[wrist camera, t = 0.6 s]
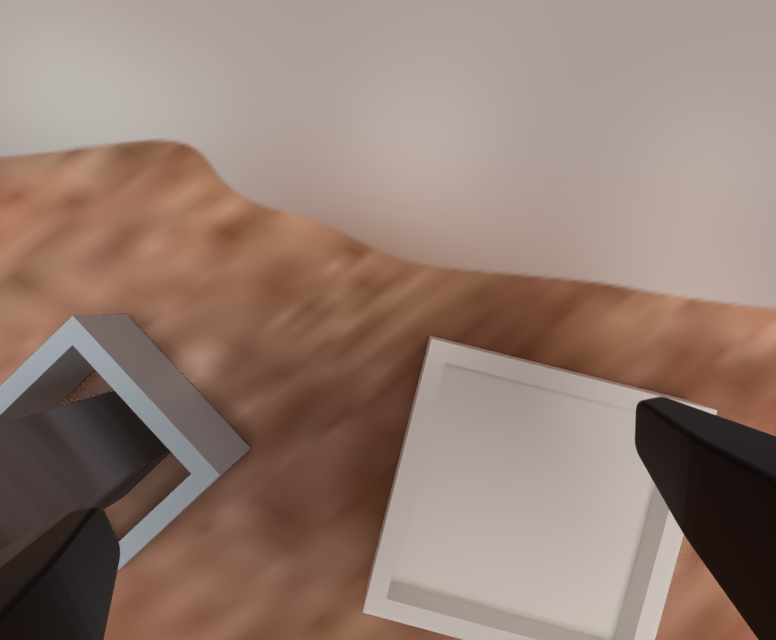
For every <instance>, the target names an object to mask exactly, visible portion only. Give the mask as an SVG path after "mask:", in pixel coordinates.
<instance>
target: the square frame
mask: <svg viewBox="0 0 776 640" xmlns="http://www.w3.org/2000/svg"><path fill="white" fill-rule="evenodd" d="M94 369H95V370H96V371H97V372H98V373H99V374H100V375H101V376H102V378H103V379H104V380H105V381H106V382H107V383H108V384H109V385H110V386H111V387H112V388H113V389H114V391H115V392H116V393H117V394H118V395H119V396H120V397H121V398H122V399H123V400H124V401H125V402H126V404H127V405H128V406H129V407H130V408H131V409H132V410H133V411H134V412H135V413H136V414H137V415H138V417H139V418H140V419H141V420H142V421H143V422H144V423H145V424H146V425H147V426H148V427H149V429H150V430H151V431H152V432H153V433H154V434H155V435H156V436H157V437H158V438H159V439H160V440H161V442H162V443H163V444H164V445H165V446H166V447H167V448H168V449H169V450H170V451H171V452H172V453H173V455H174V456H175V457H176V458H177V459H178V460H179V461H180V462H181V463H182V464H183V465H184V466H185V468H186V469H187V470H188V471H189V472H190V473H191V475H189V476H188V477H187V478H186V479H185V480H184V481H183V482H182V483H181V484H180V485H179V486H178V487H177V488H176V489H175V490H173V491H172V492H171V493H170V494H169V495H168V496H167V497H166V498H165V499H164V500H163V501H162V502H161V503H160V504H159V505H157V506H156V507H155V508H154V509H153V510H152V511H151V512H150V513H149V514H148V515H147V516H146V517H145V518H144V519H143V520H141V521H140V522H139V523H138V524H137V525H136V526H135V527H134V528H133V529H132V530H131V531H130V532H129V533H128V534H127V535H126V536H124V537H123V538H122V539H121V540H120V541H118V542H119V546H120V560H119V565H118V570H117V573H118V572H119V571H120V570H121V569H122V568H123V567H124V566H125V565H126V564H128V563H129V562H130V561H131V560H132V559H133V558H134V557H135V556H136V555H137V554H138V553H139V552H140V551H141V550H143V549H144V548H145V547H146V546H147V545H148V544H149V543H150V542H151V541H152V540H153V539H154V538H155V537H156V536H157V535H159V534H160V533H161V532H162V531H163V530H164V529H165V528H166V527H167V526H168V525H169V524H170V523H171V522H172V521H174V520H175V519H176V518H177V517H178V516H179V515H180V514H181V513H182V512H183V511H184V510H185V509H186V508H187V507H189V506H190V505H191V504H192V503H193V502H194V501H195V500H196V499H197V498H198V497H199V496H200V495H201V494H202V493H204V492H205V491H206V490H207V489H208V488H209V487H210V486H211V485H212V484H213V483H214V482H215V481H216V480H217V479H219V478H220V477H221V476H222V475H223V474H224V473H225V472H226V471H227V470H228V469H229V468H230V467H231V466H232V465H234V464H235V463H236V462H237V461H238V460H239V459H240V458H241V457H242V456H243V455H244V454H245V453H246V452H247V451H248V450H250V449H251V448H250V447H249V446H248V445H247V444H246V443H245V442H244V440H243V439H242V438H241V437H240V436H239V435H238V434H237V433H236V432H235V431H234V430H233V429H232V427H231V426H230V425H229V424H228V423H227V422H226V421H225V420H224V419H223V418H222V417H221V416H220V414H219V413H218V412H217V411H216V410H215V409H214V408H213V407H212V406H211V405H210V404H209V403H208V401H207V400H206V399H205V398H204V397H203V396H202V395H201V394H200V393H199V392H198V391H197V390H196V389H195V387H194V386H193V385H192V384H191V383H190V382H189V381H188V380H187V379H186V378H185V377H184V376H183V374H182V373H181V372H180V371H179V370H178V369H177V368H176V367H175V366H174V365H173V364H172V363H171V361H170V360H169V359H168V358H167V357H166V356H165V355H164V354H163V353H162V352H161V351H160V350H159V349H158V347H157V346H156V345H155V344H154V343H153V342H152V341H151V340H150V339H149V338H148V337H147V336H146V334H145V333H144V332H143V331H142V330H141V329H140V328H139V327H138V326H137V325H136V324H135V323H134V321H133V320H132V319H131V318H130V317H129V316H128V315H127V314H114V315H81V316H72V317H71V318H70V319H69V320H68V321H67V322H66V323H65V324H64V325H63V326H62V327H61V328H60V329H59V330H58V331H57V332H56V333H55V334H54V335H53V336H52V337H51V338H50V339H49V340H48V341H47V342H46V343H44V344H43V345H42V346H41V347H40V348H39V349H38V350H37V351H36V352H35V353H34V354H33V355H32V356H31V357H30V358H29V359H28V360H27V361H26V362H25V363H24V364H23V365H22V366H21V367H20V368H19V369H18V370H17V371H16V372H15V373H14V374H13V375H12V376H11V377H10V378H9V379H8V380H7V381H5V382H4V383H3V384H2V385H1V386H0V423H3V422H7V421H10V420H14V419H17V418H21V417H24V416H28V415H31V414H35V413H38V412H42V411H45V410H49V409H52V408H55V407H56V406H57V405H58V404H59V403H60V402H61V401H62V400H63V399H64V398H65V397H66V396H67V395H68V394H69V393H70V392H71V391H73V390H74V389H75V388H76V387H77V386H78V385H79V384H80V383H81V382H82V381H83V380H84V379H85V378H86V377H87V376H88V375H89V374H90V373H91V372H92V371H93V370H94Z"/></svg>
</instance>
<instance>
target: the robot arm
mask: <svg viewBox="0 0 776 640" xmlns="http://www.w3.org/2000/svg"><path fill="white" fill-rule="evenodd" d="M635 446H636V450H637V453H638V455H639V457H640V459H641V460H642V462H643V464H644V466H645V468H646V469H647V471H648V473H649V475H650V476H651V478H652V480H653V482H654V483H655V485H656V487H657V489H658V491H659V492H660V494H661V496H662V498H663V499H664V501H665V503H666V505H667V507H668V508H669V510H670V512H671V514H672V515H673V517H674V519H675V521H676V522H677V524H678V526H679V527H680V529H681V531H682V532H683V534H684V535H685V537H686V538H687V540H688V541H689V543H690V544H691V546H692V547H693V548H694V550H695V551H696V553H697V554H698V555H699V557H700V558H701V560H702V561H703V562H704V564H705V565H706V567H707V568H708V569H709V571H710V572H711V574H712V575H713V576H714V578H715V579H716V581H717V582H718V583H719V585H720V586H721V588H722V589H723V590H724V592H725V593H726V595H727V596H728V597H729V599H730V600H731V602H732V603H733V605H734V606H735V607H736V609H737V610H738V612H739V613H740V614H741V616H742V617H743V619H744V620H745V621H746V623H747V624H748V626H749V627H750V628H751V630H752V631H753V633H754V634H755V635H756V637H757V638H758V640H776V436H773V435H770V434H767V433H765V432H762V431H759V430H756V429H753V428H751V427H748V426H745V425H742V424H739V423H736V422H734V421H731V420H728V419H725V418H722V417H719V416H717V415H714V414H711V413H708V412H705V411H703V410H700V409H697V408H694V407H691V406H688V405H686V404H683V403H680V402H677V401H674V400H671V399H669V398H666V397H656V398H651V399H646V400H641V401H640V402H639V403H638V404H637V406H636V418H635ZM119 560H120V546H119V542H118V540H117V538H116V535H115V533H114V531H113V529H112V527H111V525H110V523H109V520H108V518H107V516H106V514H105V512H104V511H103V509H101V508H100V507H97V506H93V507H87V508H82V509H77V510H74V511H71V512H70V513H68V514H67V515H66V516H65V517H63V518H62V519H61V520H59V521H58V522H57V523H56V524H54V525H53V526H52V527H51V528H49V529H48V530H47V531H46V532H44V533H43V534H42V535H41V536H39V537H38V538H37V539H35V540H34V541H33V542H32V543H30V544H29V545H28V546H27V547H25V548H24V549H23V550H22V551H20V552H19V553H18V554H16V555H15V556H14V557H13V558H11V559H10V560H9V561H8V562H6V563H5V564H4V565H3V566H1V567H0V640H103V639H104V634H105V629H106V625H107V620H108V615H109V610H110V605H111V600H112V595H113V590H114V585H115V580H116V575H117V570H118V565H119Z"/></svg>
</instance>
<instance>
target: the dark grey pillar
mask: <svg viewBox="0 0 776 640" xmlns="http://www.w3.org/2000/svg"><path fill="white" fill-rule="evenodd" d="M170 452H171V451H170V450H169V449H168V448H167V447H166V446H165V445H164V444H163V443H162V442H161V440H160V439H159V438H158V437H157V436H156V435H155V434H154V433H153V432H152V431H151V430H150V429H149V427H148V426H147V425H146V424H145V423H144V422H143V421H142V420H141V419H140V418H139V417H138V415H137V414H136V413H135V412H134V411H133V410H132V409H131V408H130V407H129V406H128V405H127V404H126V402H125V401H124V400H123V399H122V398H121V397H120V396H119V395H118V394H117V393H116V392H115V391H112V392H108V393H105V394H101V395H98V396H94V397H91V398H87V399H84V400H80V401H77V402H73V403H70V404H66V405H63V406H59V407H56V408H52V409H49V410H45V411H42V412H38V413H35V414H31V415H28V416H24V417H21V418H17V419H14V420H10V421H7V422H3V423H0V567H1V566H3V565H4V564H5V563H6V562H8V561H9V560H10V559H11V558H13V557H14V556H15V555H16V554H18V553H19V552H20V551H22V550H23V549H24V548H25V547H27V546H28V545H29V544H30V543H32V542H33V541H34V540H35V539H37V538H38V537H39V536H41V535H42V534H43V533H44V532H46V531H47V530H48V529H49V528H51V527H52V526H53V525H54V524H56V523H57V522H58V521H59V520H61V519H62V518H63V517H65V516H66V515H67V514H68V513H70V512H71V511H74V510H77V509H82V508H87V507H93V506H97V507H100V508H101V509H103V510H104V509H105V508H107V507H108V506H110V505H112V504H113V503H115V502H116V501H118V500H119V499H121V498H122V497H124V496H125V495H126V494H127V493H128V492H129V491H130V490H131V489H132V488H133V487H134V486H135V485H136V484H137V483H138V482H139V481H140V480H142V479H143V478H144V477H145V476H146V475H147V474H148V473H149V472H150V471H151V470H152V469H153V468H154V467H155V466H156V465H157V464H158V463H160V462H161V461H162V460H163V459H164V458H165V457H166V456H167V455H168V454H169V453H170Z"/></svg>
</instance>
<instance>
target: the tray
mask: <svg viewBox="0 0 776 640" xmlns="http://www.w3.org/2000/svg"><path fill="white" fill-rule="evenodd" d="M656 397H666V398H669V399H671V400H674V401H677V402H680V403H683V404H686V405H688V406H691V407H694V408H697V409H700V410H703V411H705V412H708V413H711V414H714V415H716V414H717V410H715V409H712V408H709V407H706V406H704V405H701V404H698V403H695V402H692V401H689V400H686V399H682V398H678V397H674V396H670V395H666V394H662V393H658V392H654V391H650V390H646V389H642V388H638V387H634V386H630V385H626V384H622V383H618V382H614V381H610V380H606V379H602V378H598V377H594V376H590V375H586V374H582V373H578V372H574V371H570V370H566V369H562V368H558V367H554V366H550V365H546V364H542V363H538V362H534V361H530V360H526V359H522V358H518V357H514V356H510V355H506V354H502V353H498V352H494V351H490V350H486V349H482V348H478V347H474V346H470V345H466V344H462V343H458V342H454V341H450V340H446V339H442V338H438V337H434V336H429V340H428V344H427V348H426V352H425V356H424V360H423V364H422V368H421V372H420V376H419V380H418V384H417V388H416V392H415V396H414V400H413V404H412V408H411V412H410V416H409V420H408V424H407V428H406V432H405V436H404V440H403V444H402V448H401V452H400V456H399V460H398V464H397V468H396V472H395V476H394V480H393V484H392V488H391V492H390V496H389V500H388V504H387V508H386V512H385V516H384V520H383V524H382V528H381V532H380V536H379V540H378V544H377V548H376V551H375V555H374V559H373V563H372V567H371V571H370V575H369V579H368V584H367V590H366V596H365V602H364V608H363V613H367V614H370V615H374V616H378V617H381V618H385V619H389V620H392V621H396V622H400V623H403V624H407V625H411V626H414V627H418V628H422V629H425V630H429V631H433V632H437V633H440V634H444V635H448V636H451V637H455V638H459V639H462V640H655V638H656V634H657V630H658V627H659V623H660V619H661V616H662V612H663V608H664V605H665V601H666V597H667V594H668V590H669V586H670V583H671V579H672V575H673V572H674V568H675V564H676V561H677V557H678V553H679V550H680V546H681V542H682V539H683V535H684V534H683V532H682V531H681V529H680V527H679V526H678V524H677V522H676V521H675V519H674V517H673V515H672V514H671V512H670V510H669V508H668V507H667V505H666V503H665V501H664V499H663V498H662V496H661V494H660V492H659V491H658V489H657V487H656V485H655V483H654V482H653V480H652V478H651V476H650V475H649V473H648V471H647V469H646V468H645V466H644V464H643V462H642V460H641V459H640V457H639V455H638V453H637V450H636V446H635V418H636V406H637V404H638V403H639V402H640V401H641V400H646V399H651V398H656Z"/></svg>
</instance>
